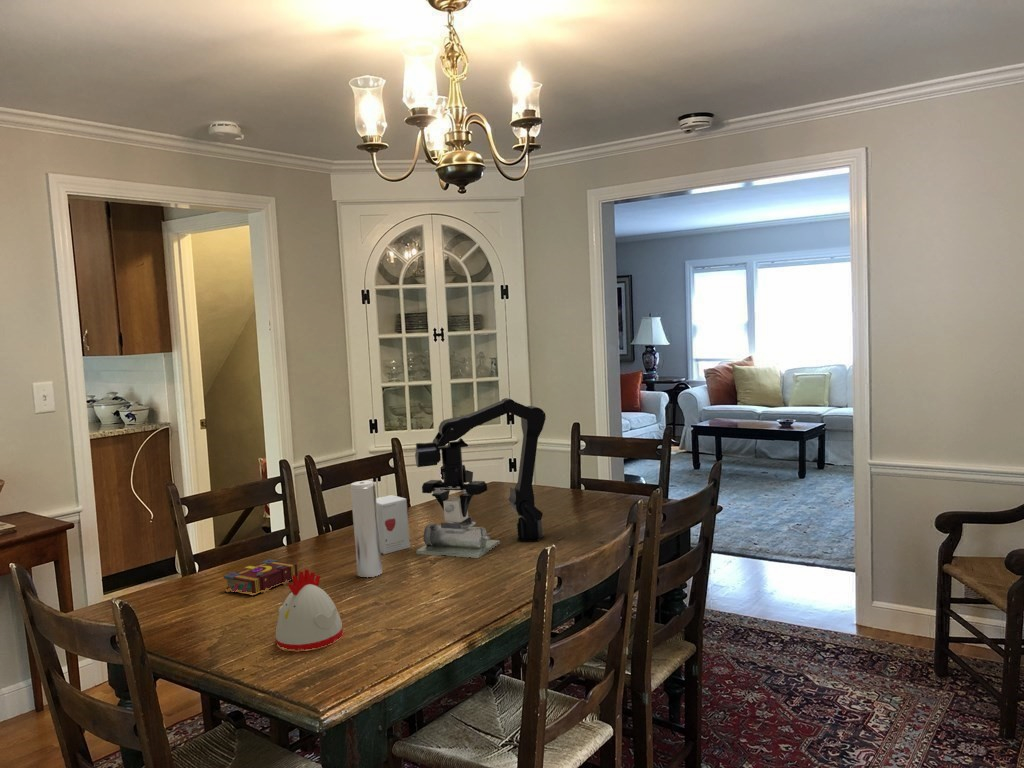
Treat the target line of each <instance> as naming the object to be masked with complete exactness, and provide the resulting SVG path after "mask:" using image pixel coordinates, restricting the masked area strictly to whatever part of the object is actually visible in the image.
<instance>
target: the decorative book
mask: <svg viewBox="0 0 1024 768" xmlns="http://www.w3.org/2000/svg"><path fill="white" fill-rule="evenodd" d="M293 575H296V576H298V577H299V573H298V565H297V564H296V563H292V562H291V563H290V562H286V561H280V560H278V559H271V558H269V559H265V560H263V561H260V562H258V563H257V564H255V565H254V564H253V565H248V566H245V567H244V569H240V570H238V571H233V572H230V573H228V574H224V575H223V579H225V580H226V581H227V588H231V589H232V591H234V592H235V591H236V590H237V589H238V590H242V592H246V591H247V592H252V593H256V592H258V591H261V590H265V589H267V588H270V587H271V586H274V585H276V584H279V583H282V582H285V581H288V580H290V579H292V578H293ZM235 593H236V592H235Z"/></svg>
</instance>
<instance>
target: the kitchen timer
mask: <svg viewBox="0 0 1024 768" xmlns="http://www.w3.org/2000/svg"><path fill="white" fill-rule="evenodd" d="M315 573H316V572H313V571H311V572H310V571H309V569H307V568H306V569H305V568H304V571H301V570H300V571H299V573H298V578H297V576H296V575H293V580H292V583H291V582H290V583H288V584H287V586H288V588H289V590H290V593H289V594H288V595H287V597H286V598H285V600H284V602H283V604H282V605H280V606H279V608H278V612H277V613H278V617H277V622H276V628H275V643H276V642H277V644H278V645H279V646H280V647H284V648H287V649H295V650H301V649H302V650H303V649H304V650H305V649H312V648H318V647H321V646H325V645H328V644H330V643H333V642H334V641H336V640H337V639H339V638H340V637H341V636H342V637H343V635H342V633H343V634H344V632H343V631H344V629H343V623H342V619H341V616H340V614H339V612H338V609H337V607H336V604H335V603H334V601H333V600H332V598H331V597H330V595H328V593H327V592H326V591H325V590H324V589H322V588H321V587H319V584H320V579H321V575H318V574H316V575H315ZM342 637H341V638H342ZM341 638H340V639H341ZM340 639H339V640H340Z"/></svg>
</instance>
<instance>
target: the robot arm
mask: <svg viewBox="0 0 1024 768" xmlns="http://www.w3.org/2000/svg"><path fill="white" fill-rule="evenodd" d="M508 413H509V414H512V415H514V416H516V417H519V418H520V423H521V424H520V425H521V431H522V445H521V453H520V460H519V469H518V476H517V477H518V478H517V483H516V485H515V486H514V487H510V488H509V497H508V500H507V501H508V502H509V504H510V507H511V509H512V510H513V511H514V512H516V513H517V515H518V519H517V523H516V524H517V525H516V527H517V528H516V529H517V538H516V539H517V541H525V542H527V541H528V542H539V541H540V540H541V539H542V538H544V537H545V533H543V525H542V523H543V522H542V521H543V520H542V518H543V515H544V513H543V512H542V511H541V510H540V509H538V508H537V507H536V504H535V493H534V488H533V481H534V472H535V465H536V457H537V450H538V449H537V447H538V442H539V441H538V439H539V437H540V435H541V433H542V431H543V429H544V426H545V423H546V417H547V416H546V413H545V411H544V410H543V409H542V408H540V407H537V406H533V405H524V404H521V403H519V402H517V401H515V400H514V399H512V398H508V397H505V398H502V399H501V400H499V401H497V402H495V403H493V404H490V405H488V406H485V407H482V408H481V409H478V410H476V411H474V412H471V413H469V414H466V415H462V416H461V415H460V416H456V417H452V418H451V417H450V418H446V419H444V420H442V421H440V423H439V425H438V432H437V434H436V435H435V437H434V439H433V440H432V442H431V441H430V442H417V443H416V444H415V454H414V458H415V465H416V467H417V468H422V467H432V466H433V467H434V466H437V465H438V464H439V463H440V462H441V461H442V463H441V464H442V467H441V468H440V473H442V476H443V481H442V480H441V479H430V480H427V481H426V482H424V483H422V486H421V493H422V494H431V496H432V497H434V498H435V500H437V502H438V503H439V505H440V506H441V509H442V510H443V511H444V503H443V501H445V500H447V499H449V498H450V497H449V495H450V492H451V491H463V492H462V494H460V495H459V498H460V502H461V509H462V514H463V517H466V514H467V510H468V509H469V507H470V506H469V505H470V503H471V500H472V498H473V496H477V495H481V494H483V493H484V492H487V491H488V484H487V483H486V481H485V480H473V479H474V478H473V477H474V476H473V475H474V472H473V471H470V470H466V466H465V464H463V455H462V448H467V447H468V446H469V444H467V442H465V441H464V439H463V438H462V437H463V436H465V435H466V434H467V433H469V432H470V431H471V430H472V429H474V428H476V427H479V426H481V425H483V424H485V423H488V422H490V421H492V420H496V419H497V418H499V417H502V416H503V415H506V414H508Z"/></svg>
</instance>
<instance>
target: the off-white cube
mask: <svg viewBox="0 0 1024 768" xmlns="http://www.w3.org/2000/svg"><path fill="white" fill-rule="evenodd" d="M448 498H449V499H447V500H445V501H443V503H444V510H443V513H444V514H443V515H444V523H448V522H462V521H464V520H466V519H467V518H468V517H469V511H468V510H467V514H466V517H463V514H462V509H461V502H460V496H459V497H455V496H451V497H448Z"/></svg>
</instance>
